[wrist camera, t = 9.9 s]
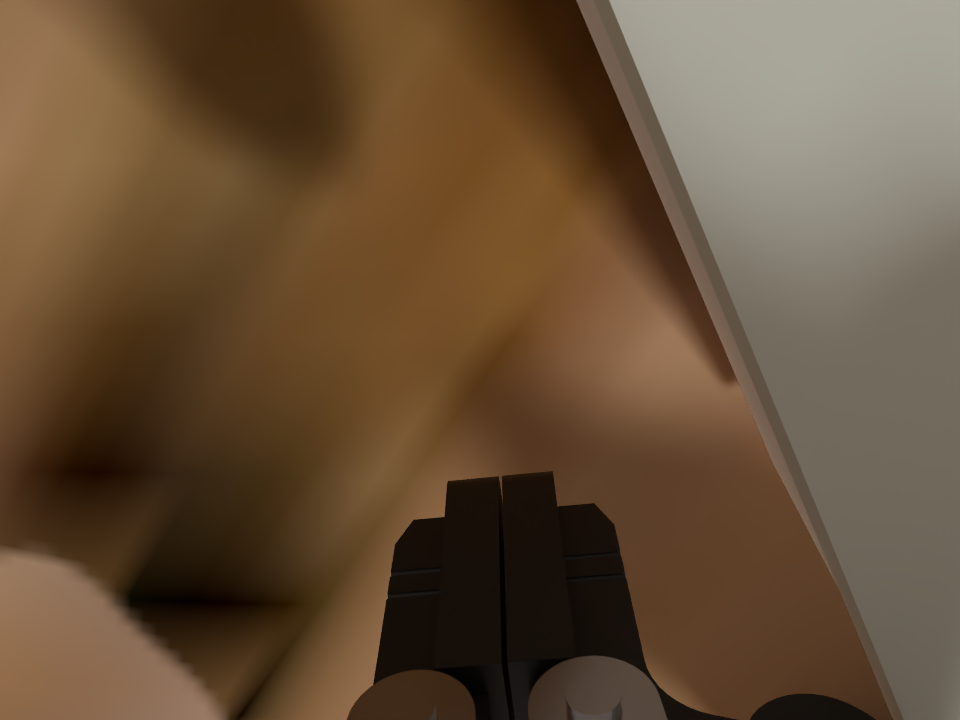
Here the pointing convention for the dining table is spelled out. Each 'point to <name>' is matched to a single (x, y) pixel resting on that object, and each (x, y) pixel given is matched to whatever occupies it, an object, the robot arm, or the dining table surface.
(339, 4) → the dining table surface
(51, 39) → the dining table surface
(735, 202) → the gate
